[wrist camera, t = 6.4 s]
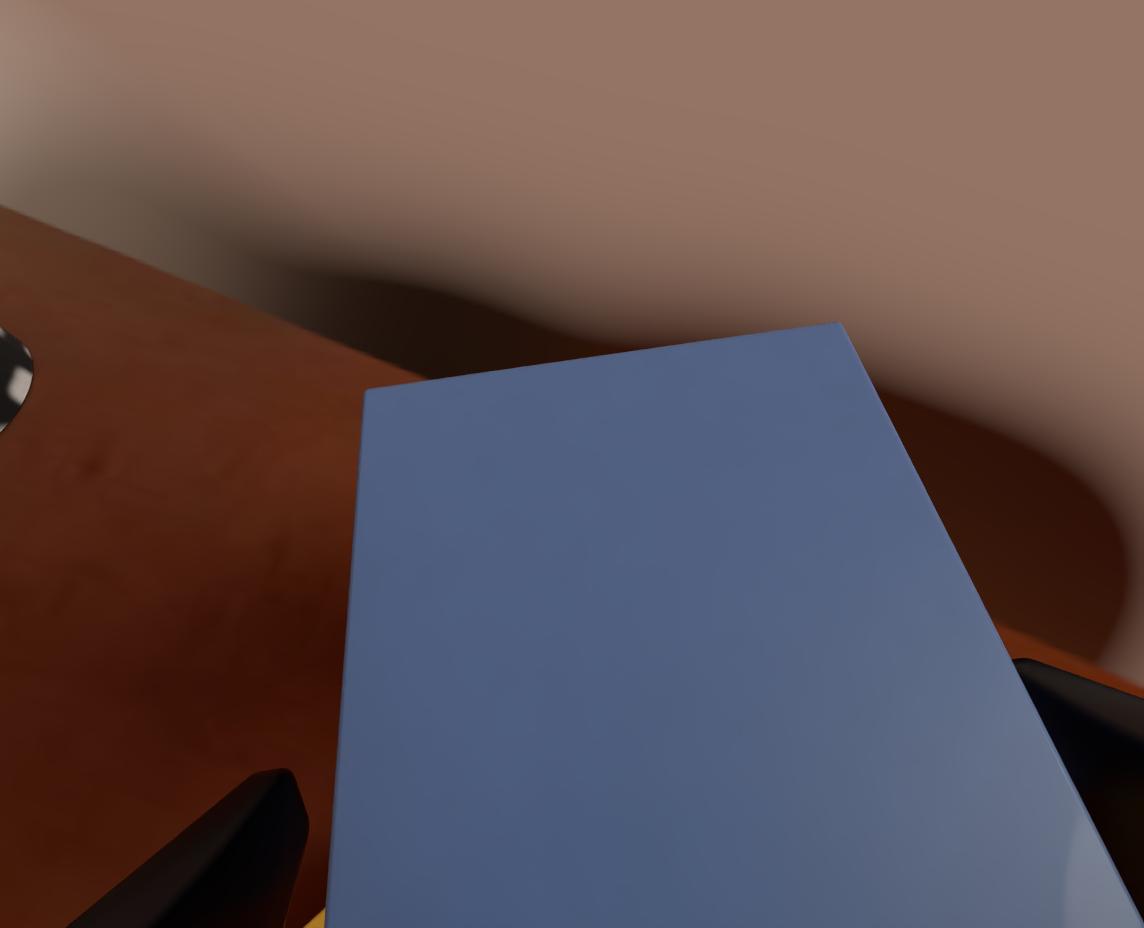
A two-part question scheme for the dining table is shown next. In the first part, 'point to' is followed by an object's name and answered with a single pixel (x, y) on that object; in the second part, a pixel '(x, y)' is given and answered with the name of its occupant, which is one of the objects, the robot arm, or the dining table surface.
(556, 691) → the block
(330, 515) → the dining table surface
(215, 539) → the dining table surface
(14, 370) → the spotted tube
